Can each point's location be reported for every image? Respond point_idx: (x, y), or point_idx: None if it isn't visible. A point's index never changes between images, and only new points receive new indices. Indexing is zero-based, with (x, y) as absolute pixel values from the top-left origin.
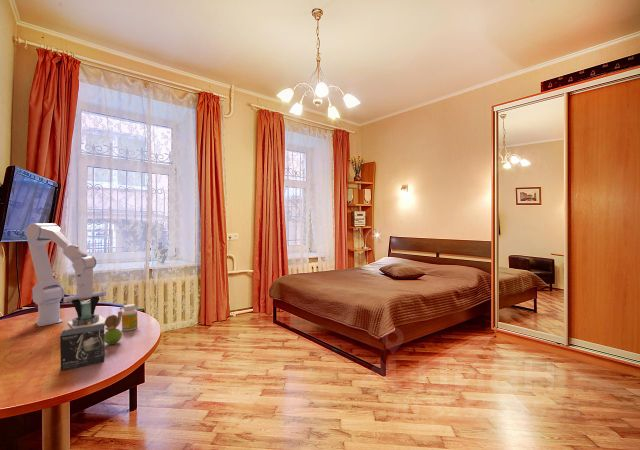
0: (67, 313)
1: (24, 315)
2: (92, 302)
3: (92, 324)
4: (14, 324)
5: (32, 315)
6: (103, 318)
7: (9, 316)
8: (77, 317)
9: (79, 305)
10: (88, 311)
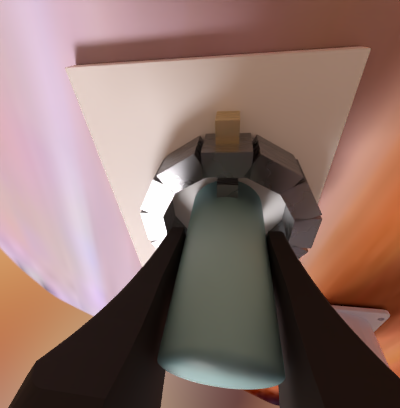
0: None
1: None
2: (142, 354)
3: (205, 97)
4: (394, 366)
5: None
6: (126, 205)
7: None
8: None
9: (323, 357)
10: (208, 249)
